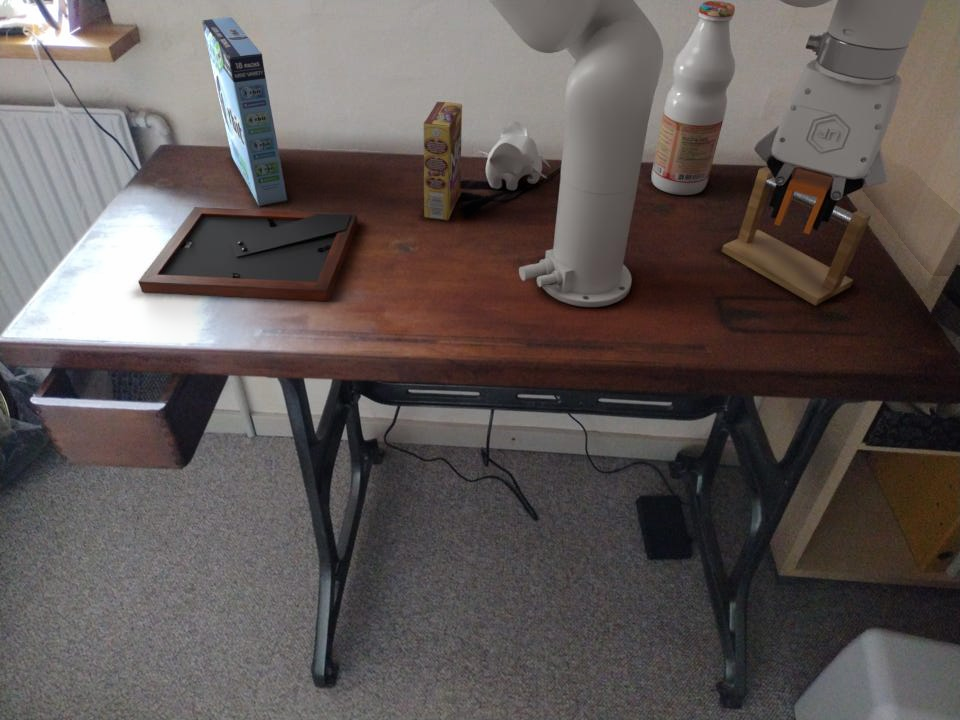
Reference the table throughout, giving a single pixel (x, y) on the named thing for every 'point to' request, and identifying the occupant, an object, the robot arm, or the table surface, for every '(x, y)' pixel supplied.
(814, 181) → the clip
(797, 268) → the rail stand
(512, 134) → the elephant figurine
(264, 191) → the gum box
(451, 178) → the candy box
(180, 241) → the picture frame
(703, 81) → the fruit juice
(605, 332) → the table surface
